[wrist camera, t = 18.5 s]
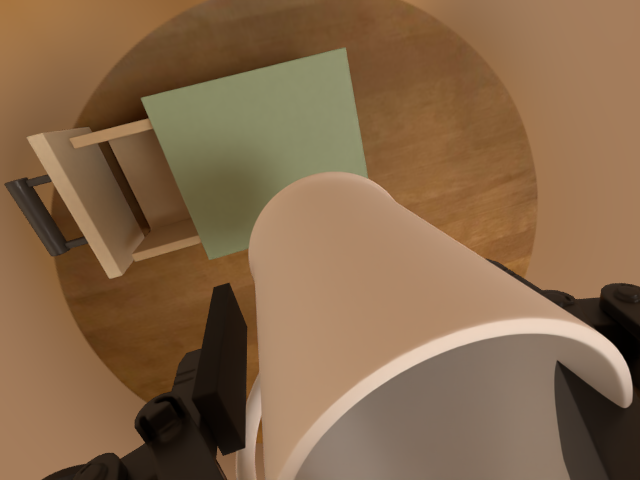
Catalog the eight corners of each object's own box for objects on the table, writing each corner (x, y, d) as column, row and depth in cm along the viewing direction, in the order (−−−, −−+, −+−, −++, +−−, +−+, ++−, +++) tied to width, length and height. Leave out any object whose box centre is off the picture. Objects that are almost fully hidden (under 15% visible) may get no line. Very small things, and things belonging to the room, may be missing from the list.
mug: (286, 376, 20) (334, 691, 9) (168, 299, 17) (25, 657, 6) (432, 245, 19) (686, 437, 8) (336, 132, 15) (554, 196, 4)
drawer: (91, 258, 36) (51, 296, 29) (22, 143, 31) (-47, 154, 24) (263, 208, 38) (267, 233, 31) (226, 92, 33) (219, 88, 25)
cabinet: (218, 224, 38) (209, 260, 30) (169, 99, 33) (140, 97, 24) (346, 187, 40) (374, 211, 31) (320, 62, 34) (345, 46, 25)
